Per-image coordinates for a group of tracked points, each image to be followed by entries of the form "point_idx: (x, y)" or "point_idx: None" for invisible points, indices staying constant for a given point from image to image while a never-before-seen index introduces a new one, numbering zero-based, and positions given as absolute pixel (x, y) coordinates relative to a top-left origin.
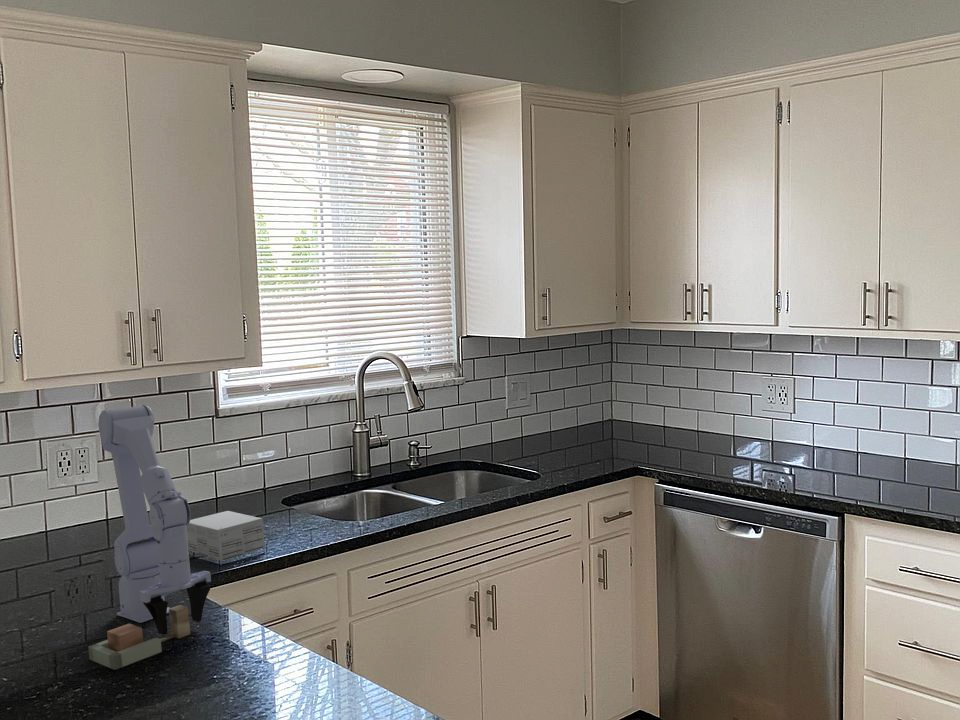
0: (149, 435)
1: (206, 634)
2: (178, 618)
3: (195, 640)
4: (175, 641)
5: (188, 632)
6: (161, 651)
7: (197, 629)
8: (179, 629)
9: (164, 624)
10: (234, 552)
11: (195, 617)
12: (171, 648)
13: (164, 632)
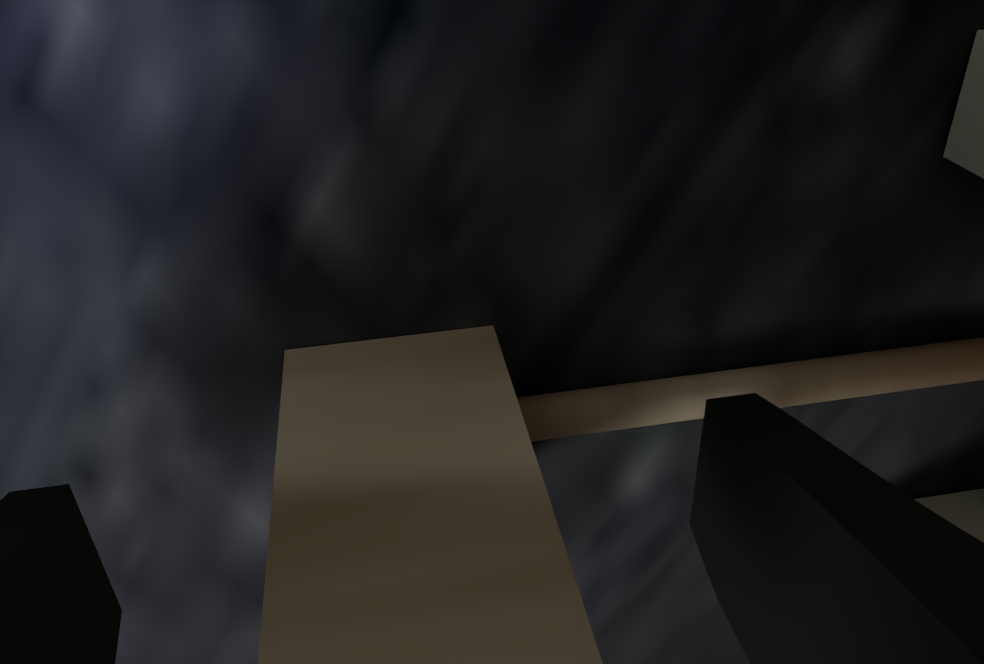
0: None
1: (69, 114)
2: (532, 562)
3: (362, 9)
4: (588, 259)
5: (314, 367)
6: (982, 33)
7: (114, 434)
8: (490, 408)
9: (869, 488)
10: None
11: (75, 598)
12: (810, 34)
13: (775, 409)
